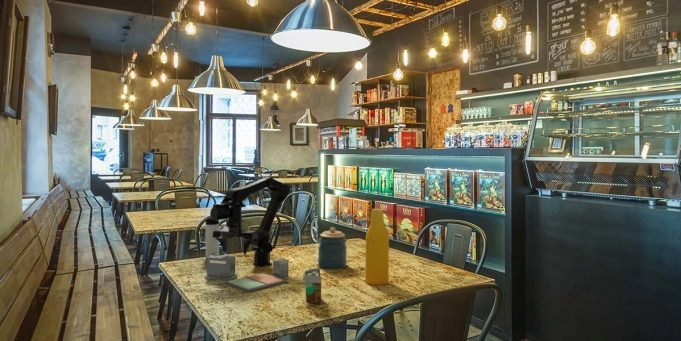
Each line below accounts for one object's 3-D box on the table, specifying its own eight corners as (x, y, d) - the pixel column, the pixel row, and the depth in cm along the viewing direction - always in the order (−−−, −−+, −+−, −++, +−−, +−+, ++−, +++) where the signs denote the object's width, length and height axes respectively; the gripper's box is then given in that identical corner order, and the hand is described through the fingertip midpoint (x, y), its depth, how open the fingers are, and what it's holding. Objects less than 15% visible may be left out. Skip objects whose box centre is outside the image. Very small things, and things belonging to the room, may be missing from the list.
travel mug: (216, 260, 219) (216, 218, 218) (203, 259, 221) (203, 217, 220) (222, 257, 225) (221, 216, 225) (209, 256, 227) (209, 215, 226)
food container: (302, 295, 167) (302, 268, 166) (319, 295, 167) (319, 267, 167) (302, 307, 155) (302, 277, 154) (321, 306, 155) (321, 276, 155)
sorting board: (262, 275, 194) (262, 272, 194) (287, 282, 183) (287, 280, 183) (224, 283, 181) (224, 281, 181) (248, 292, 170) (248, 289, 170)
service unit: (213, 274, 195) (213, 254, 194) (237, 276, 192) (237, 255, 192) (204, 278, 188) (204, 257, 188) (229, 280, 185) (229, 259, 185)
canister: (314, 268, 206) (314, 228, 205) (322, 261, 218) (322, 224, 218) (343, 270, 203) (343, 230, 202) (349, 263, 215) (349, 225, 215)
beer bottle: (361, 280, 187) (362, 208, 186) (382, 278, 191) (383, 207, 189) (370, 286, 179) (371, 211, 178) (392, 284, 182) (393, 210, 181)
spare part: (281, 274, 195) (281, 258, 195) (288, 276, 192) (288, 259, 192) (272, 276, 192) (272, 259, 191) (279, 278, 189) (279, 261, 188)
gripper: (205, 219, 195) (205, 256, 196) (246, 221, 191) (246, 259, 191) (218, 216, 206) (218, 251, 207) (257, 218, 201) (257, 253, 202)
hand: (234, 254), depth 201 cm, fingers open, 9 cm apart
